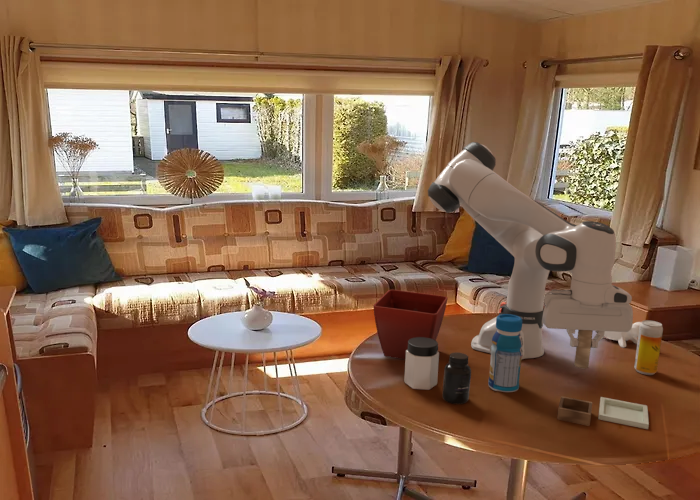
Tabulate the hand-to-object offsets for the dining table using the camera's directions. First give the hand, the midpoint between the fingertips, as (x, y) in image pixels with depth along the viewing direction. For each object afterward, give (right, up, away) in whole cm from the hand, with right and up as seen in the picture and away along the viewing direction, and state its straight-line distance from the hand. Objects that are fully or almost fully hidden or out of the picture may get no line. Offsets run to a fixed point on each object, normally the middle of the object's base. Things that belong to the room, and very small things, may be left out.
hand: (583, 346), depth 148 cm
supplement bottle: (-29, -16, +12) cm, 35 cm away
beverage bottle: (-14, -15, +20) cm, 29 cm away
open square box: (-1, -18, +4) cm, 19 cm away
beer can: (+31, -13, +34) cm, 48 cm away
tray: (+12, -18, +6) cm, 22 cm away
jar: (-37, -14, +21) cm, 44 cm away
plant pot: (-38, -9, +43) cm, 58 cm away
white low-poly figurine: (+35, -8, +58) cm, 68 cm away
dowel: (0, -5, +1) cm, 5 cm away
